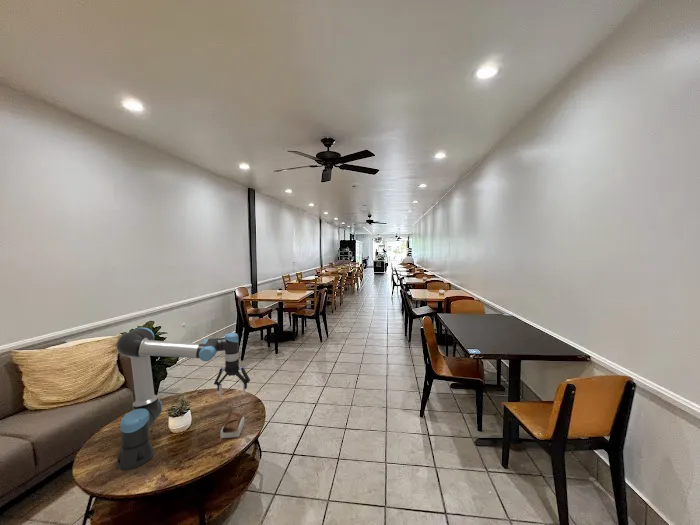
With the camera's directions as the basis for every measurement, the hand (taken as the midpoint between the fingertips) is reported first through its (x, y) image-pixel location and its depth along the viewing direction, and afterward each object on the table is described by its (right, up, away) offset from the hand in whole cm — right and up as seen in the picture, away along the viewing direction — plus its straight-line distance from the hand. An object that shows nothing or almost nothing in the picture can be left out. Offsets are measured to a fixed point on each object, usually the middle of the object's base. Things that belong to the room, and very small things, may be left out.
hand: (232, 394), depth 171 cm
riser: (0, -22, 0) cm, 22 cm away
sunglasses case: (+1, -17, 0) cm, 17 cm away
